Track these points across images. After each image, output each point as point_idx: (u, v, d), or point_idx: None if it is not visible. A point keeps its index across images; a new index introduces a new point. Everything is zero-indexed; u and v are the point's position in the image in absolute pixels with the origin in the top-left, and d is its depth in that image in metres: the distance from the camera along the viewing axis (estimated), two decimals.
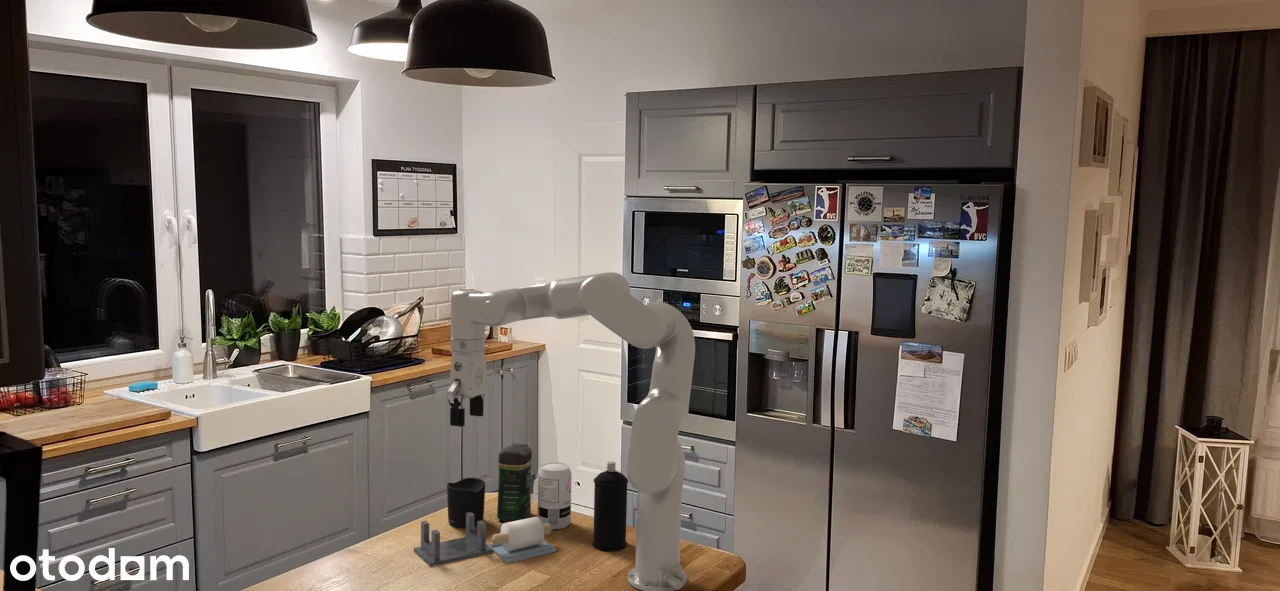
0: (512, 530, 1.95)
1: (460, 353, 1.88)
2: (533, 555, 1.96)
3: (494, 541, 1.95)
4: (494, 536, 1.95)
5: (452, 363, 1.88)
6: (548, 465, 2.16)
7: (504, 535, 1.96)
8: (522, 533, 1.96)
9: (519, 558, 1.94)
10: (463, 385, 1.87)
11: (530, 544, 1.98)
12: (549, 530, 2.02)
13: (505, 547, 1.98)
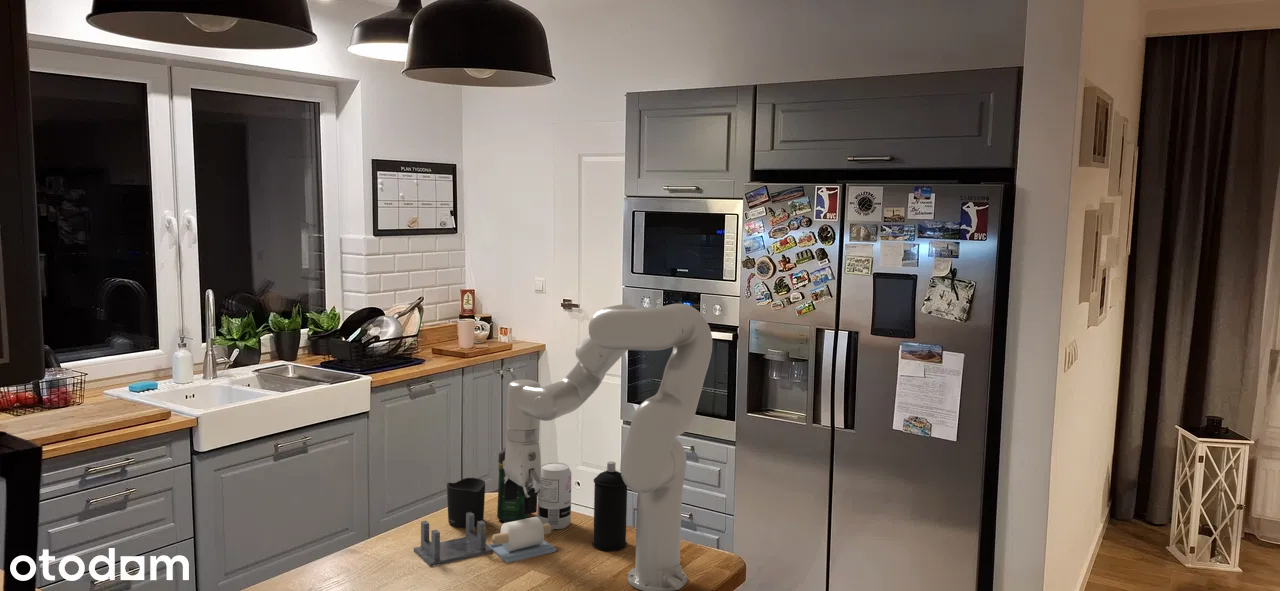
0: (512, 530, 1.95)
1: (530, 443, 1.94)
2: (533, 555, 1.96)
3: (494, 541, 1.95)
4: (494, 536, 1.95)
5: (525, 454, 1.93)
6: (548, 465, 2.16)
7: (504, 535, 1.96)
8: (522, 533, 1.96)
9: (519, 558, 1.94)
10: (537, 473, 1.95)
11: (530, 544, 1.98)
12: (549, 530, 2.02)
13: (505, 547, 1.98)
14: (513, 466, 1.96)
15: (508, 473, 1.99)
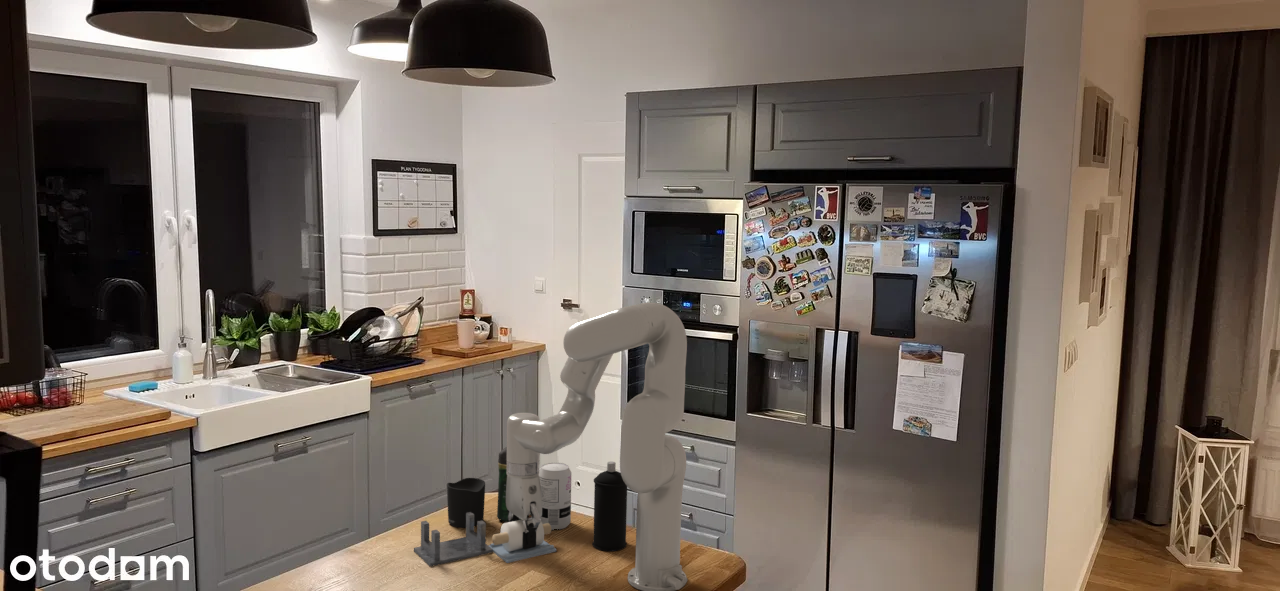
0: (512, 530, 1.95)
1: (530, 476, 1.95)
2: (533, 555, 1.96)
3: (494, 541, 1.95)
4: (494, 536, 1.95)
5: (526, 488, 1.94)
6: (548, 465, 2.16)
7: (504, 535, 1.96)
8: (522, 533, 1.96)
9: (519, 558, 1.94)
10: (538, 506, 1.95)
11: None
12: (549, 530, 2.02)
13: (505, 547, 1.98)
14: (514, 500, 1.96)
15: (509, 506, 1.99)
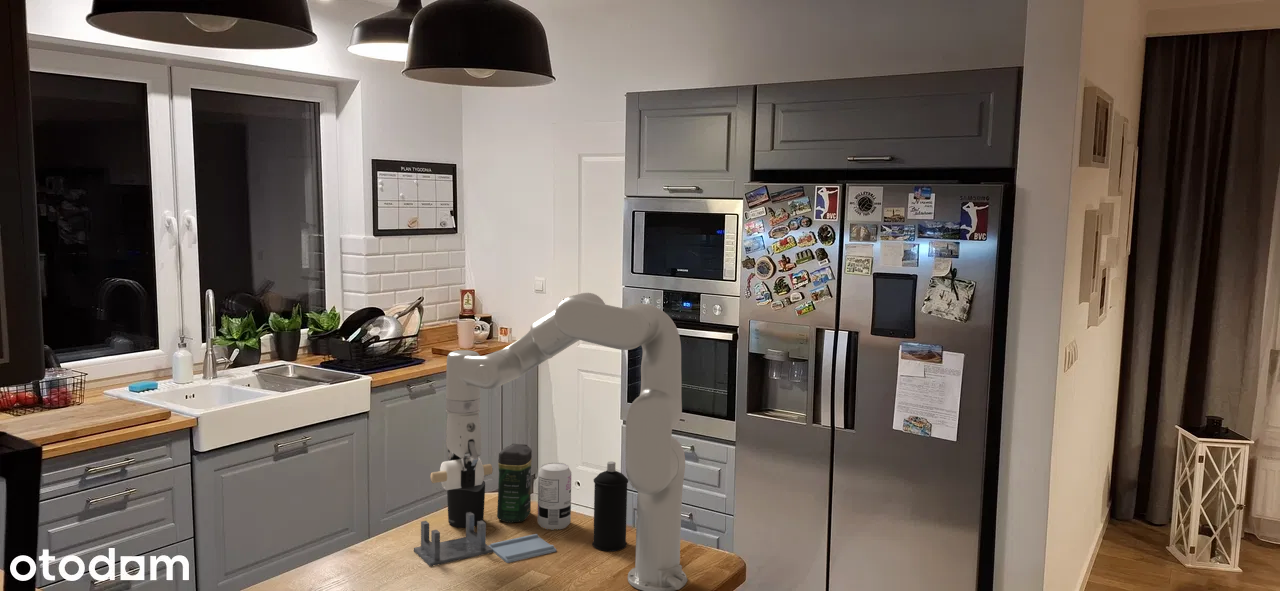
0: (450, 468, 1.92)
1: (469, 414, 1.91)
2: (533, 555, 1.96)
3: (432, 479, 1.92)
4: (432, 474, 1.92)
5: (464, 425, 1.90)
6: (548, 465, 2.16)
7: (442, 473, 1.93)
8: None
9: (519, 558, 1.94)
10: (477, 444, 1.92)
11: None
12: (490, 471, 1.99)
13: (444, 486, 1.94)
14: (453, 438, 1.93)
15: (449, 445, 1.96)
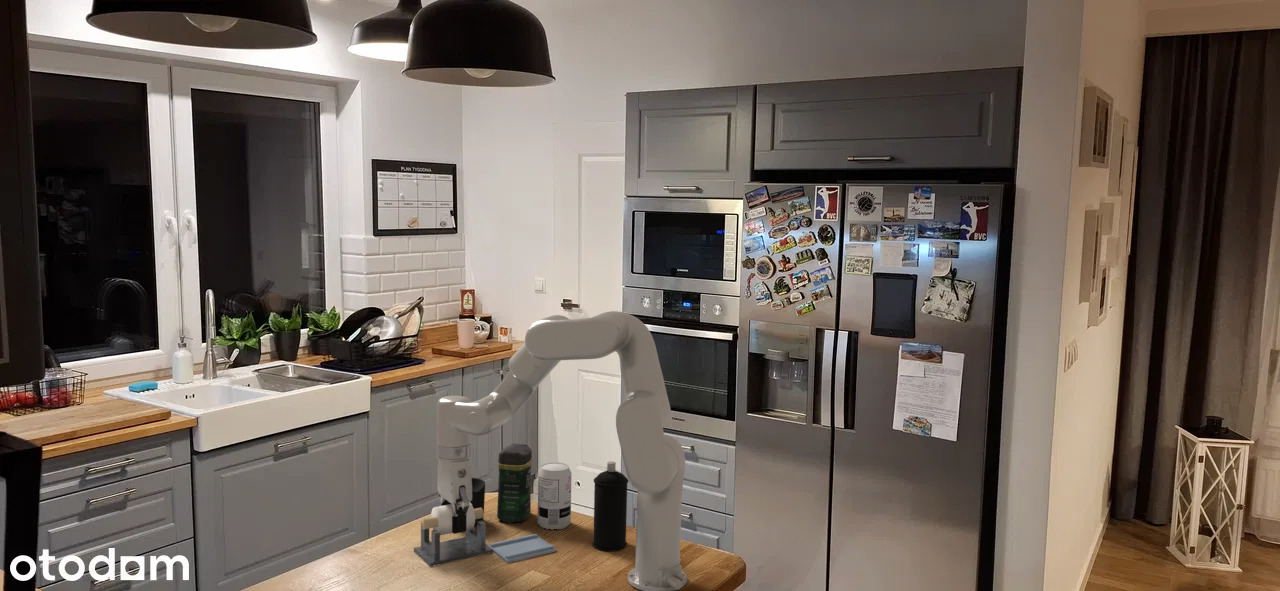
0: (441, 514, 1.93)
1: (460, 460, 1.92)
2: (533, 555, 1.96)
3: (423, 525, 1.93)
4: (423, 520, 1.93)
5: (455, 471, 1.91)
6: (548, 465, 2.16)
7: (433, 519, 1.93)
8: None
9: (519, 558, 1.94)
10: (468, 490, 1.93)
11: None
12: (481, 515, 1.99)
13: None
14: (444, 483, 1.94)
15: (440, 490, 1.97)
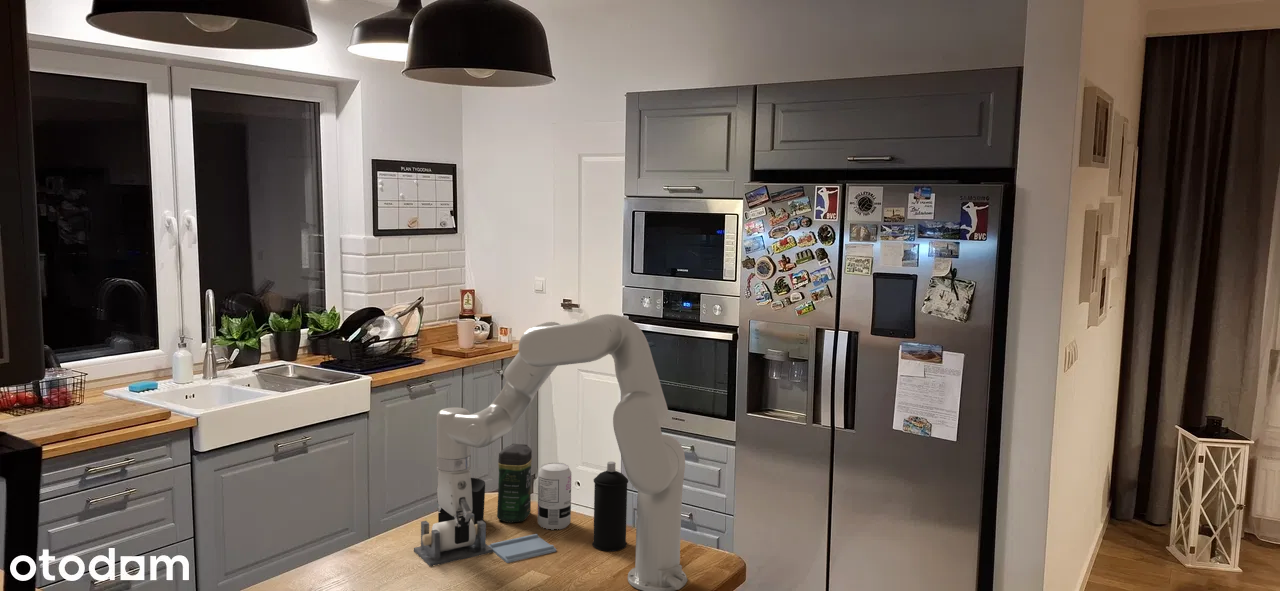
0: (442, 530, 1.93)
1: (460, 472, 1.92)
2: (533, 555, 1.96)
3: (424, 541, 1.93)
4: (424, 536, 1.93)
5: (455, 483, 1.91)
6: (548, 465, 2.16)
7: None
8: (452, 533, 1.94)
9: (519, 558, 1.94)
10: (468, 502, 1.93)
11: (461, 544, 1.96)
12: None
13: None
14: (444, 495, 1.94)
15: (440, 502, 1.97)
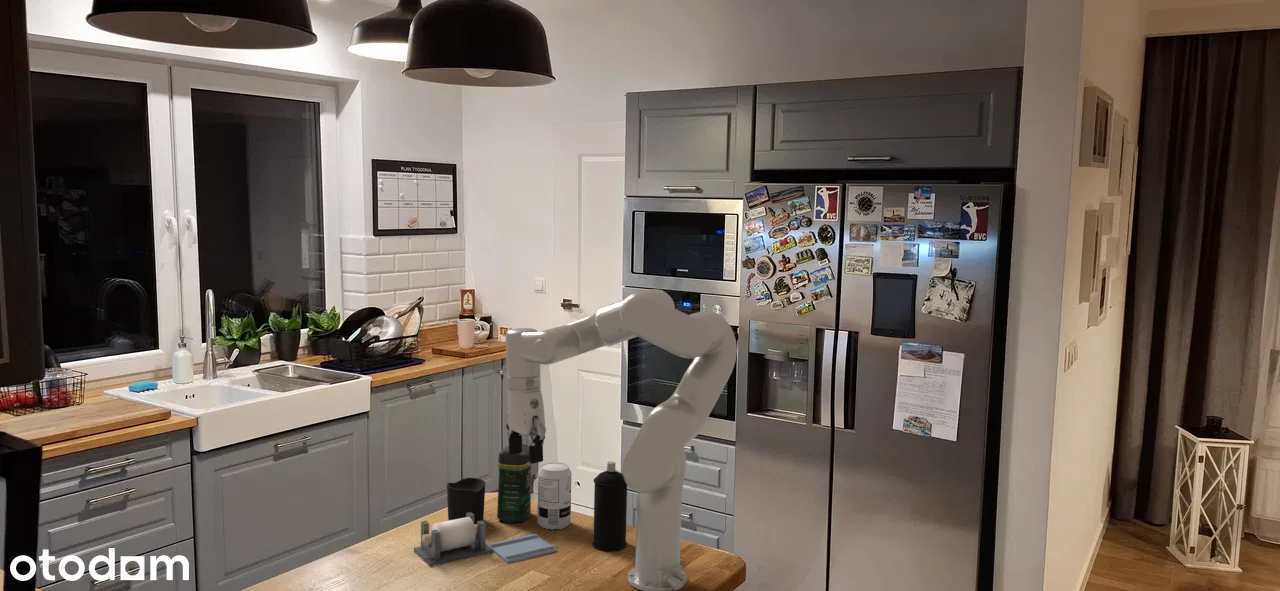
0: (442, 530, 1.93)
1: (532, 390, 1.91)
2: (533, 555, 1.96)
3: (424, 541, 1.93)
4: (424, 536, 1.93)
5: (527, 402, 1.89)
6: (548, 465, 2.16)
7: None
8: (452, 533, 1.94)
9: (519, 558, 1.94)
10: (541, 420, 1.91)
11: (461, 544, 1.96)
12: None
13: None
14: (516, 416, 1.92)
15: (511, 424, 1.95)
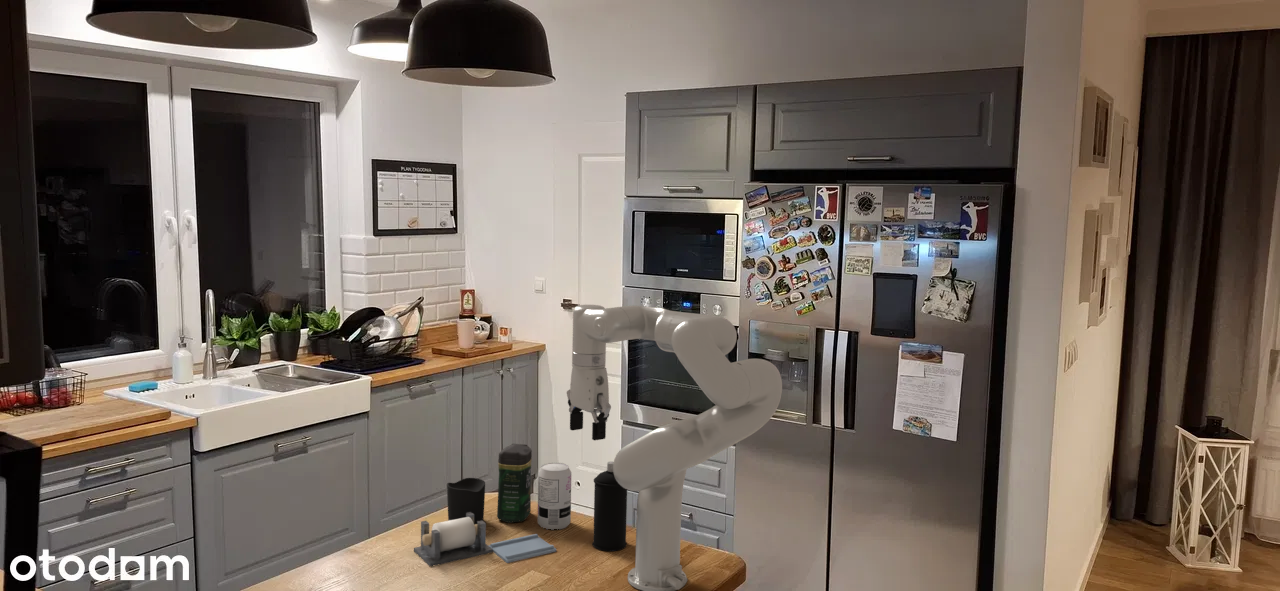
0: (442, 530, 1.93)
1: (597, 367, 1.90)
2: (533, 555, 1.96)
3: (424, 541, 1.93)
4: (424, 536, 1.93)
5: (593, 378, 1.89)
6: (548, 465, 2.16)
7: None
8: (452, 533, 1.94)
9: (519, 558, 1.94)
10: (605, 398, 1.91)
11: (461, 544, 1.96)
12: None
13: None
14: (580, 392, 1.92)
15: (574, 400, 1.95)
